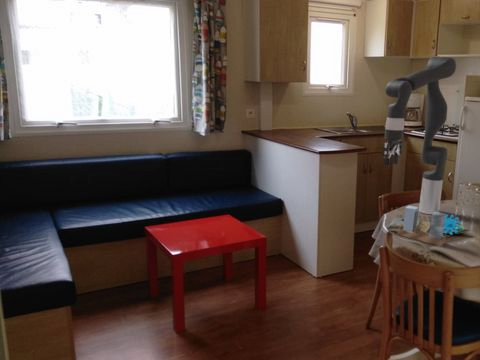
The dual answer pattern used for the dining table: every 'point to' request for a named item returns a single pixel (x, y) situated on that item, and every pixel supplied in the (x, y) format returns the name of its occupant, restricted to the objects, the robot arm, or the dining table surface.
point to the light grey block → (410, 218)
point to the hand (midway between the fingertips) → (390, 165)
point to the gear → (452, 225)
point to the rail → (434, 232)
